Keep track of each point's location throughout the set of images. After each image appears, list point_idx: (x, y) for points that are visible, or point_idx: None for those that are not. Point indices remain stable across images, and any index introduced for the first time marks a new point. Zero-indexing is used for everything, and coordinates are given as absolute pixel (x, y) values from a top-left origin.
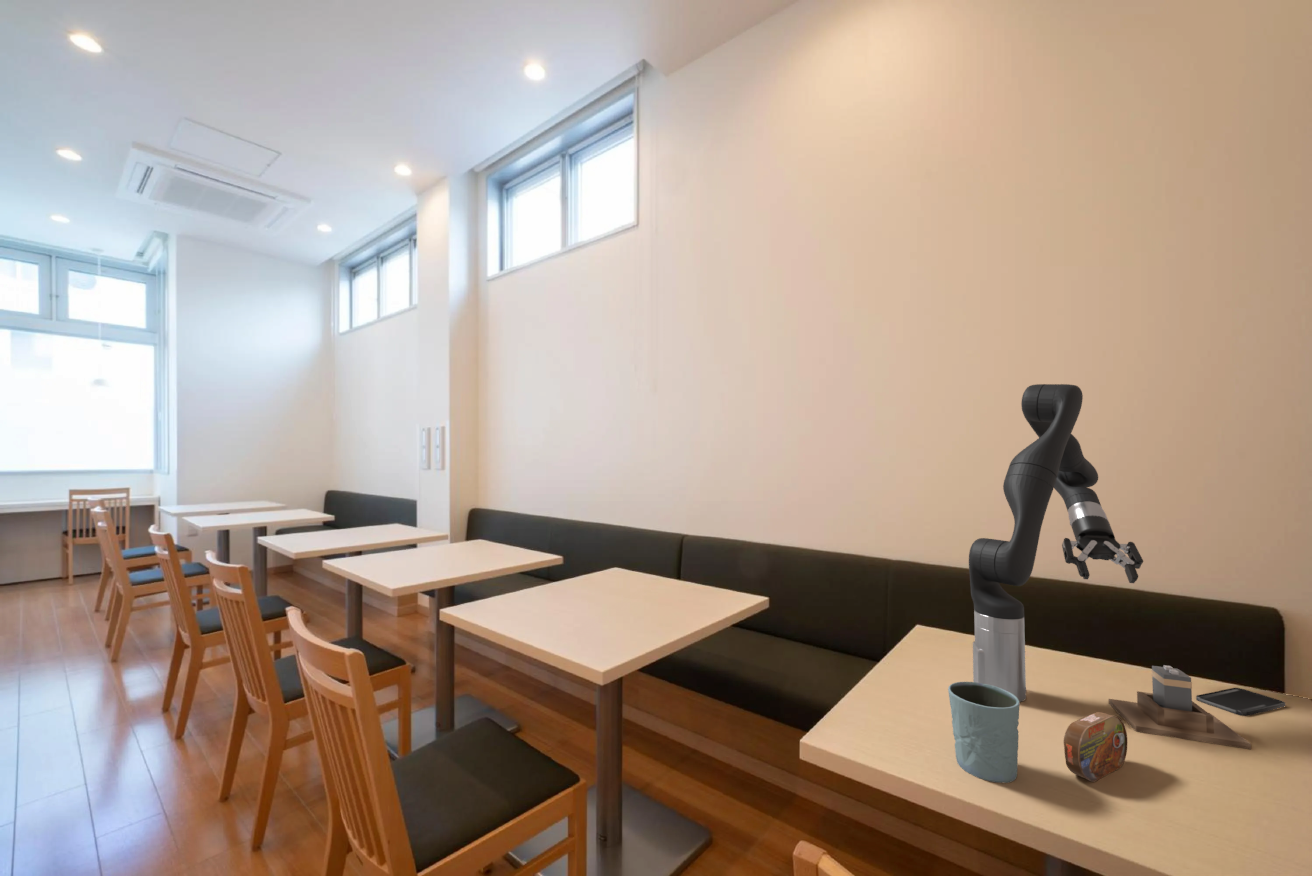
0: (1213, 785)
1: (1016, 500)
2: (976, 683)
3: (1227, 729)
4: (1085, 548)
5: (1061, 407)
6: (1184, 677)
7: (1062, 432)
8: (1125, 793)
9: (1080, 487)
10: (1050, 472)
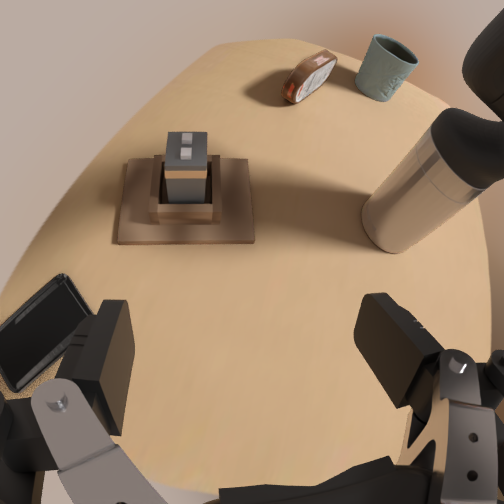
0: (219, 91)
1: None
2: (406, 62)
3: (129, 188)
4: (492, 443)
5: None
6: (177, 132)
7: None
8: (290, 73)
9: None
10: None
